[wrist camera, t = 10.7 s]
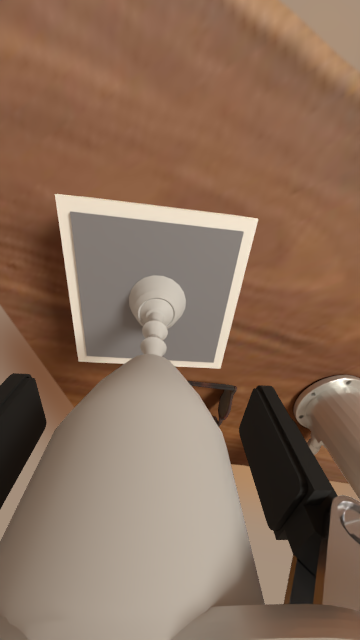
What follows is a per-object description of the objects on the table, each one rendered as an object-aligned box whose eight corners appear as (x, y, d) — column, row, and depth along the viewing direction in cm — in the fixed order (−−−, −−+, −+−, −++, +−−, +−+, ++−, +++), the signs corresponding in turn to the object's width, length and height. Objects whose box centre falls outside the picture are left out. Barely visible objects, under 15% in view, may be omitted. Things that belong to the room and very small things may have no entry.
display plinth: (209, 334, 30) (220, 370, 23) (97, 327, 28) (77, 363, 22) (233, 214, 23) (259, 219, 16) (87, 196, 21) (52, 193, 15)
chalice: (99, 298, 19) (-261, 819, 3) (156, 244, 17) (1, 905, 1) (158, 348, 22) (135, 745, 6) (212, 307, 20) (394, 731, 4)
